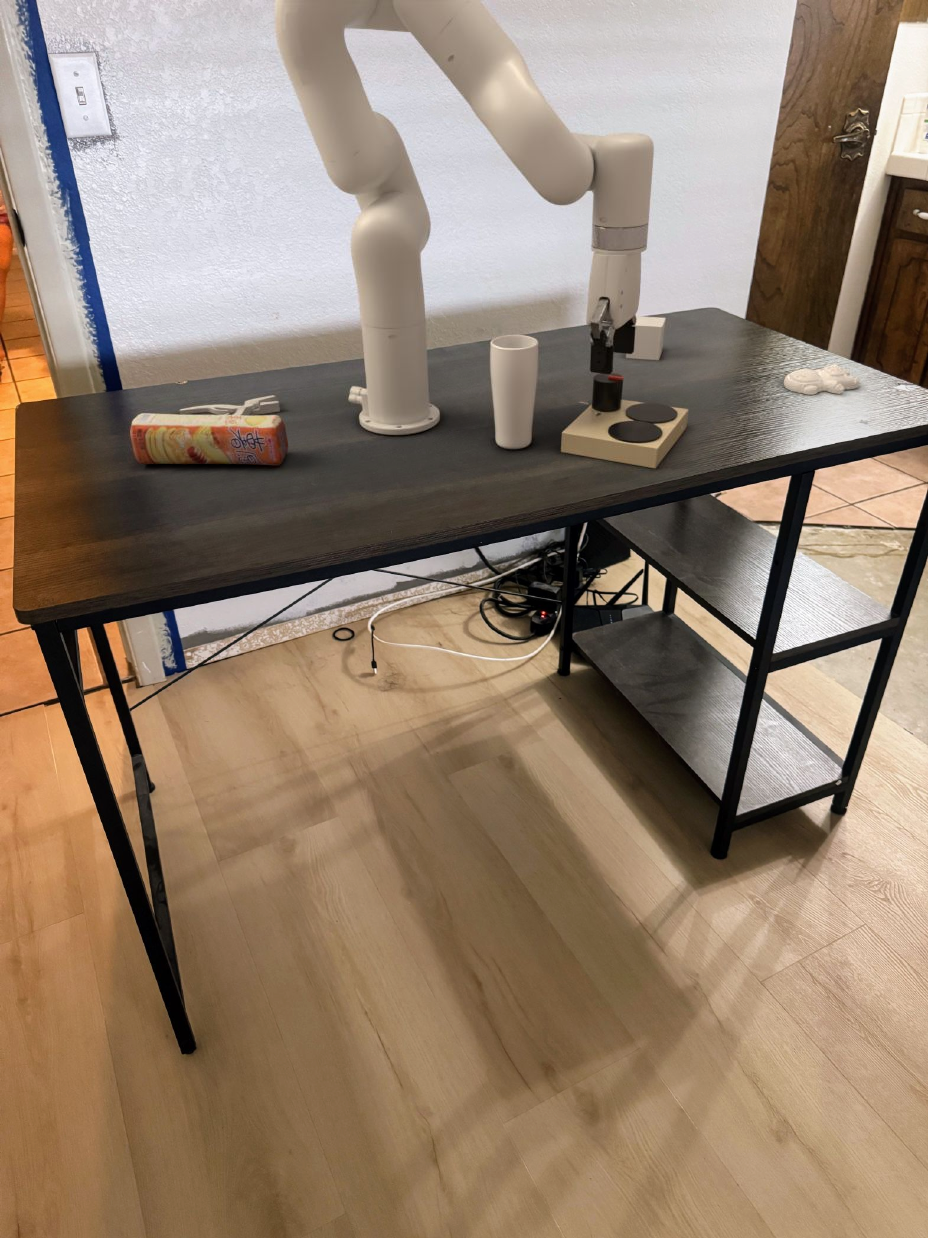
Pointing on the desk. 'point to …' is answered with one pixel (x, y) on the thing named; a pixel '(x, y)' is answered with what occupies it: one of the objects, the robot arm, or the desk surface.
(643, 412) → the burner
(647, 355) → the white cube
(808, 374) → the astronaut figurine
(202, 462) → the snack package
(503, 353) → the drinking glass
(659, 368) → the desk surface
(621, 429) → the burner
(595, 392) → the hob knob
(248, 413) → the pliers
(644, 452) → the hot plate
